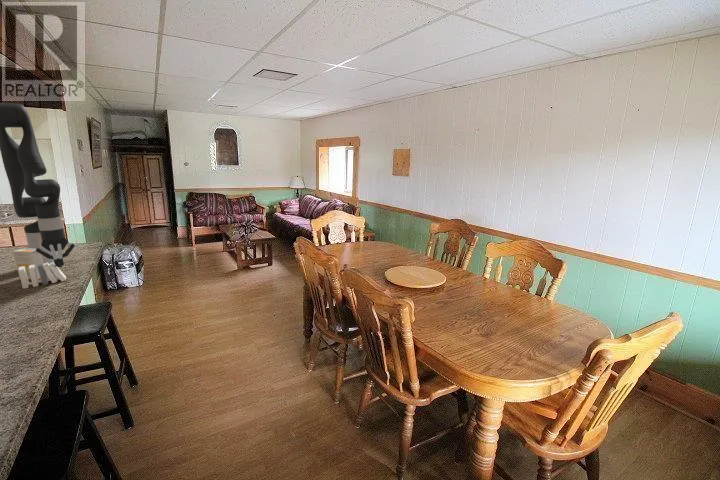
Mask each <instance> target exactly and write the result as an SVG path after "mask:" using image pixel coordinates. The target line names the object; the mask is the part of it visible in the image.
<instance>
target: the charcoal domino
mask: <svg viewBox="0 0 720 480" xmlns="http://www.w3.org/2000/svg"><path fill="white" fill-rule="evenodd" d="M37 268H38V271H39V274H40V277H41V279H40V280H41V283H42V286H44V285H49V277H48V275H47V273H46V272H45V270H44V268H43V263H41V264H38V265H37Z"/></svg>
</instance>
